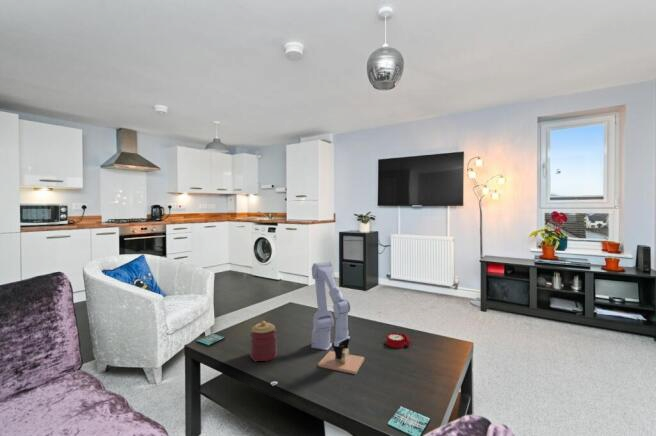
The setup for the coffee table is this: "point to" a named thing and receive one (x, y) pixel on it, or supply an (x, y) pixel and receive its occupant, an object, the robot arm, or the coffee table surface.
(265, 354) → the canister
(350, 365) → the terracotta tile
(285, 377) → the coffee table surface
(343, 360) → the maple cube
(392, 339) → the alarm clock
